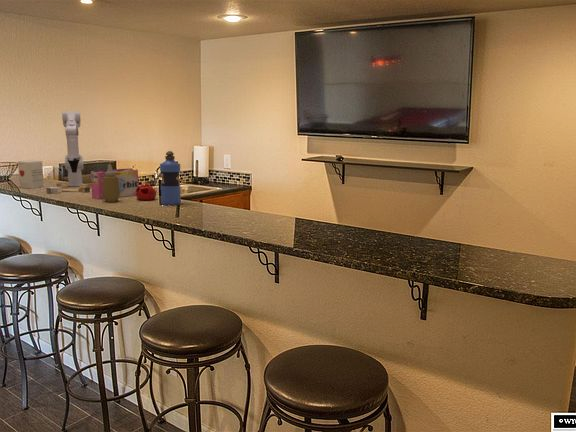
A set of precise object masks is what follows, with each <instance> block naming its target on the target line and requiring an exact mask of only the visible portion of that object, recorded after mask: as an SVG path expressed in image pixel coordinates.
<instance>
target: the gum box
mask: <svg viewBox="0 0 576 432" xmlns="http://www.w3.org/2000/svg"><path fill="white" fill-rule="evenodd" d="M107 170H108V169H104V170H103V169H102V170H90V183H91V186H92V188H91V197H92V198H93V199H97V200H104V197H103V195H102V191H103V177H104V176H106V175H105V172H107ZM113 172H115V175H114V176H117V177H118V184H119V190H120V196H119V198H122V197H130V196H136V189H137V188H138V187H139V186H140V184H139V171H138V169H134V168H119V169H118V168H117V169H113Z"/></svg>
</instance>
